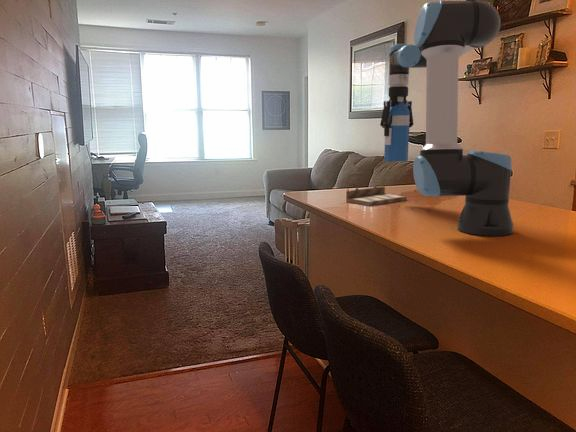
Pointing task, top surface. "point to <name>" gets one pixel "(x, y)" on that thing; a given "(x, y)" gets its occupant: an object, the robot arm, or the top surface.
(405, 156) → the water bottle
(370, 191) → the ledge board
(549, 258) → the top surface
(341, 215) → the top surface
